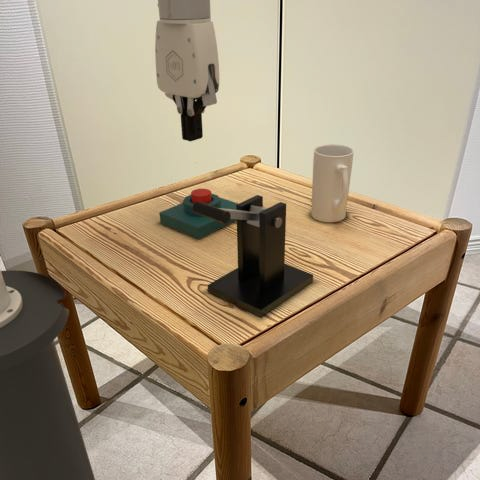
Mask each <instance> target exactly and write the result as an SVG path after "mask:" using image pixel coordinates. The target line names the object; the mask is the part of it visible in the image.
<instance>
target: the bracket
mask: <svg viewBox="0 0 480 480" xmlns="http://www.w3.org/2000/svg"><path fill="white" fill-rule="evenodd" d="M251 205H253V206H262V207H264V196H262V195H260V194H256V195H254V196H252V197H250V198H247V199H245V200H243V201H241V202H239V203H238V204H237V205H236V210H243V211H250V207H251ZM266 208H267V209H265V210H263V211H261V212H260V213H259V227H257V226H254V225H251V224H248V223H247V220H238V219H237V221H236V246H237V248H236V249H237V267H236V268H234V269H233V270H231V271H230V272H228V273H226V274H224V275H222V276H221V277H219V278H217V279H216V280H214V281H212V282H210V283H208V284H207V293H209V294H211V295H213V296H215V297H218V298H219V299H222V300H223V301H226V302H228V303H230V304H232V305H234V306H236V307H238V308H240V309H242V310H244V311H247V312H249V313H251V314H252V315H255V316H257V317H259V318H263V317H264V316H265V315H267V314H269V313H270V312H271V311H273V310H274V309H276V308H278V306H280V305H281V304H283V303H285V302H286V301H287V300H289V299H290V298H292V297H293V296H294V295H296V294H297V293H299V292H300V291H302V290H303V289H304V288H306V287H307V286H310V284H312V283H313V282H314V274H312V273H310V272H307V271H305V270H303V269H300V268H297V267H295V266H292V265H289V264H287V263H286V230H287V229H286V228H287V227H286V226H287V203H285V202H282V201H279V202H278V203H275V204H273V205H272V206H269V207H266Z"/></svg>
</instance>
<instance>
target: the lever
mask: <svg viewBox="0 0 480 480" xmlns="http://www.w3.org/2000/svg"><path fill="white" fill-rule="evenodd" d="M267 208H268V207H265V206H263V207H262V206H253V205H251V207H250V211H243V210H233V209H223V208H216V207H214V206H211V205H208V204H205V203H202V202H199V201H196V202H195V203H194V204H193V212H194V213H197V214H200V215H202V216H205V217H208V218H210V219H213V220H216V221H219V222H221V223H224V224H226V223H228V222H229V221H230V219H238V220H247V223H248V224H251V225H254V226H257V227H259V213H260V212H261V211H263V210H265V209H267Z"/></svg>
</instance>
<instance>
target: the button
mask: <svg viewBox="0 0 480 480" xmlns="http://www.w3.org/2000/svg"><path fill="white" fill-rule="evenodd" d="M211 193H212V190H211V189H208V188H196V189H193V190H192V191H191V192H190V195H191V199H192V203H195V202H196V201H199V202H202V203H205V204H207V203H210V202H212V196H211Z"/></svg>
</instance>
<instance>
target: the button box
mask: <svg viewBox="0 0 480 480" xmlns="http://www.w3.org/2000/svg"><path fill="white" fill-rule="evenodd" d="M211 196H212V202H210V203H207V204H208V205H211V206H214V207H216V208H223V209H233V210H236V205H237V204H239V203H238V202H235V201H232V200H228V199H226V198H223V197H220V196H219V195H218V194H214V193H212V192H211ZM193 204H194V203H192V199H191V194H189V195H187V196H185V197H184V198H183V199H182V202H181V203H179V204H176V205H174V206H172V207H169V208H167V209H164V210H161V211H160V212H159V213H158V214H159V223H160V224H161V225H163V226H165V227H168V228H170V229H173V230H175V231H177V232H180V233H182V234H185V235H187V236H190V237H192V238H194V239H197V240H200V239H203V238H205V237H208V235H211V234H212V233H215V232H217V231H219V230H221V229H223V228H225V227H227V226H229V225H231V224H234V223H235V222H237V219H230V221H229V222H228V223H226V224H224V223H221V222H219V221H216V220H213V219H210V218H208V217H205V216H202V215H200V214H197V213H194V212H193Z"/></svg>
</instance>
